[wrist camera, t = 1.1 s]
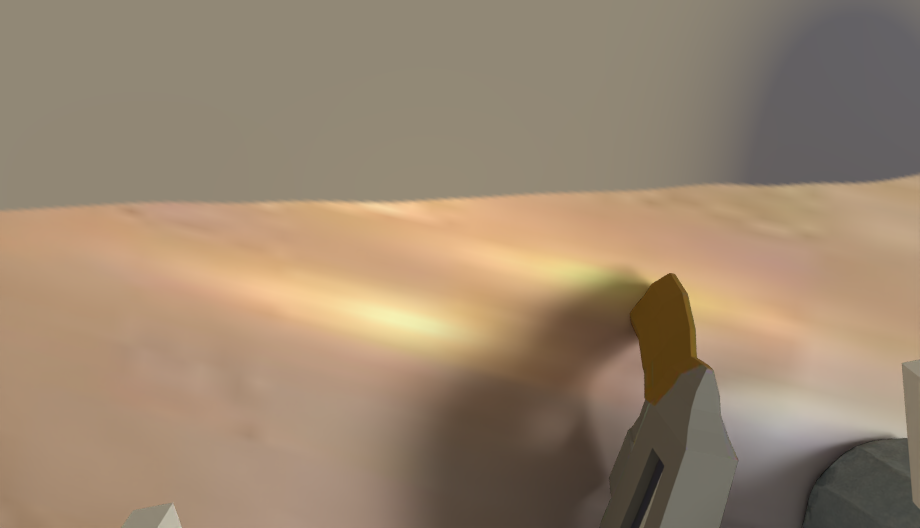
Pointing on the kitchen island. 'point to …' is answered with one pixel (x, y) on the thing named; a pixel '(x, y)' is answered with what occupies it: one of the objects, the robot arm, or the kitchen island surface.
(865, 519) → the moka pot
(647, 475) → the gun
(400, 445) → the kitchen island surface
